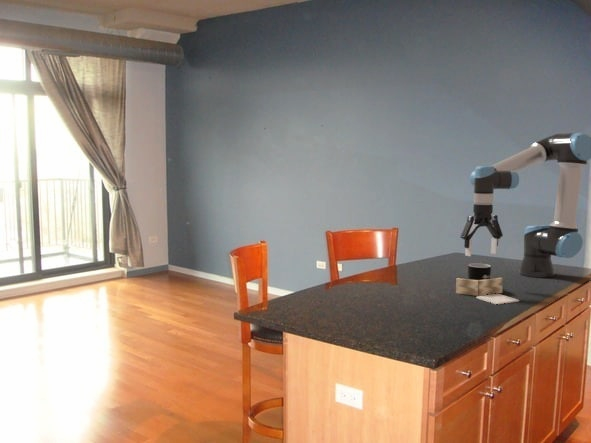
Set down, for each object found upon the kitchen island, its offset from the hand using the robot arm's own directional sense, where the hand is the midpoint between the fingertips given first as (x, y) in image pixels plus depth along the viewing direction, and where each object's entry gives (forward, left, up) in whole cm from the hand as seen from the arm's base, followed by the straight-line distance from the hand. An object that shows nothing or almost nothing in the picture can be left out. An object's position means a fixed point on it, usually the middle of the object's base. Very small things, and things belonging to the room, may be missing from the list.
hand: (481, 254), depth 238 cm
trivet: (+7, +17, -14) cm, 23 cm away
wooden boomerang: (+5, +5, -14) cm, 16 cm away
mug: (0, 0, -15) cm, 15 cm away
